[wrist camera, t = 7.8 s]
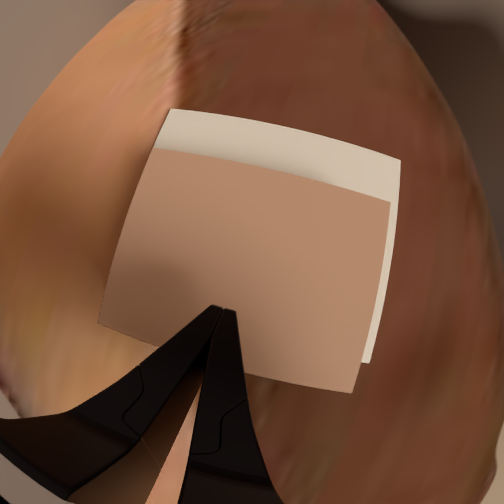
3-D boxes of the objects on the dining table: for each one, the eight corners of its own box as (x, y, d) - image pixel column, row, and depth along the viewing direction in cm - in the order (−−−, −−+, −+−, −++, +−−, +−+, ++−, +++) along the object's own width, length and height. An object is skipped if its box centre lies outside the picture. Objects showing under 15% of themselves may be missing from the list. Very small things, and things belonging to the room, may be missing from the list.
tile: (351, 393, 11) (390, 202, 13) (97, 323, 12) (152, 147, 14) (332, 375, 15) (366, 222, 16) (128, 320, 16) (171, 176, 17)
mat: (366, 362, 15) (369, 363, 15) (107, 293, 16) (104, 293, 16) (398, 163, 18) (400, 160, 17) (172, 111, 19) (170, 108, 18)
